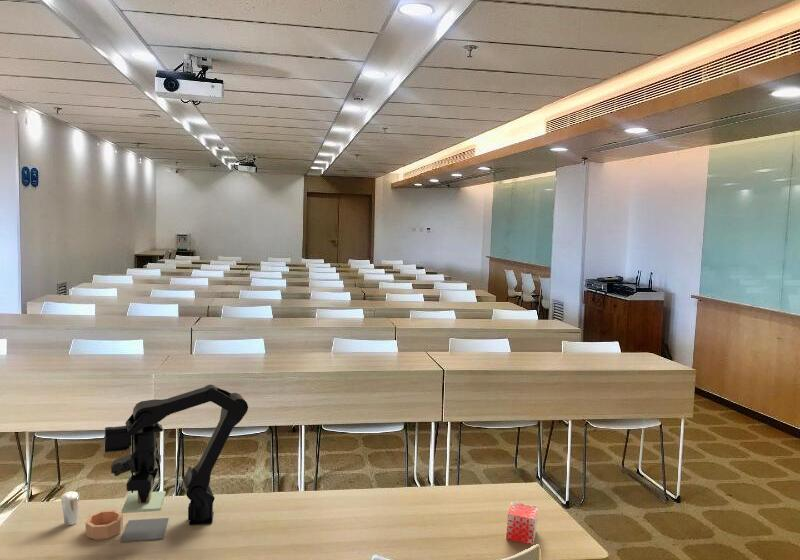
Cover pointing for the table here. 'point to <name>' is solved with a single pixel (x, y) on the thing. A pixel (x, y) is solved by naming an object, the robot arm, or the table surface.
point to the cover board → (151, 503)
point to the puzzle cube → (522, 523)
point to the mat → (145, 530)
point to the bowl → (104, 524)
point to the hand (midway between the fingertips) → (144, 499)
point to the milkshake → (70, 507)
